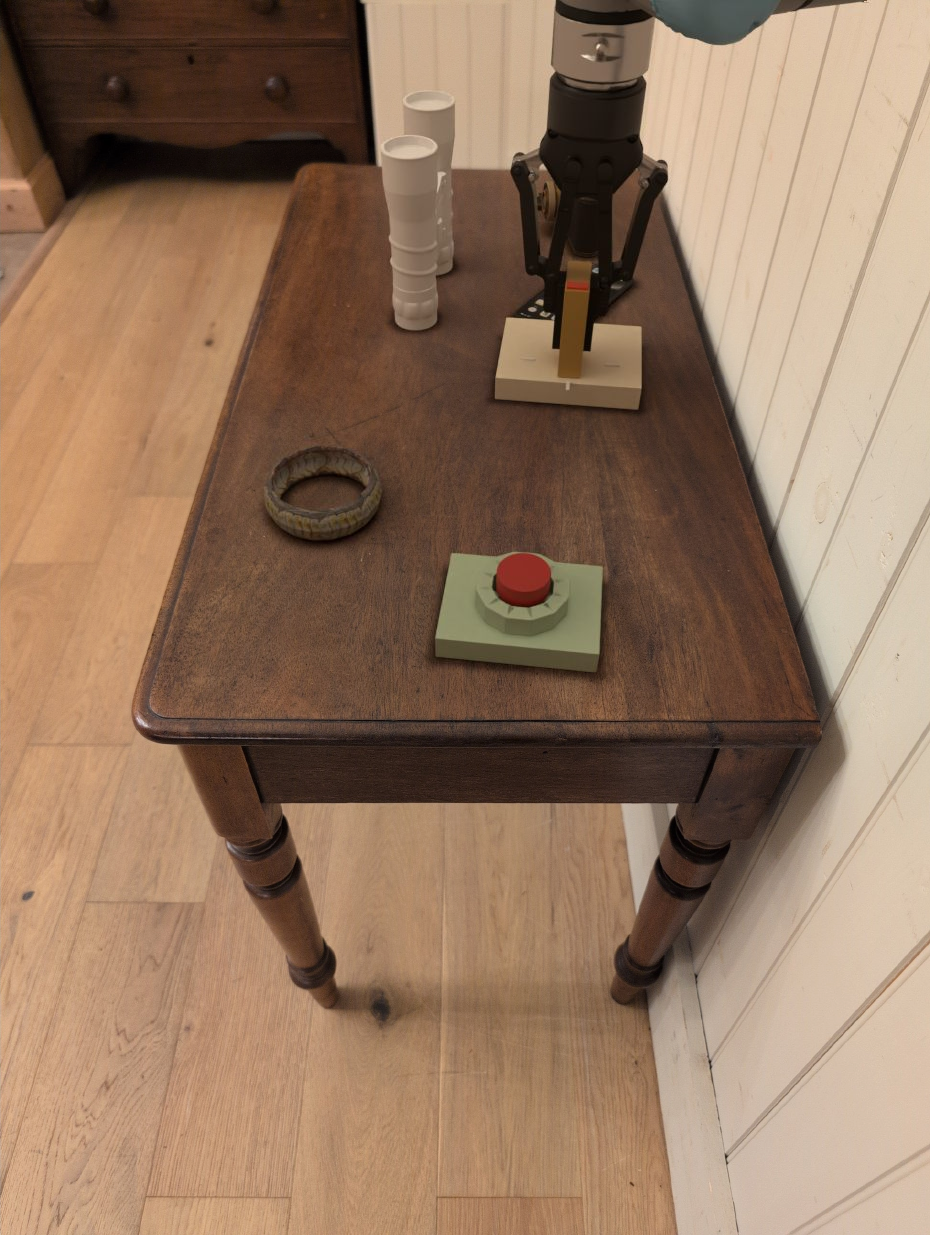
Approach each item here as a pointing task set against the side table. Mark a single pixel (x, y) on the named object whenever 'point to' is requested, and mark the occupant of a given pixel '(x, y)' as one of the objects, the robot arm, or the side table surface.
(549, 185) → the camera
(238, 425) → the side table surface
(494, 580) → the box
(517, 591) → the button
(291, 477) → the decorative ring
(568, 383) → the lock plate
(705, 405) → the side table surface
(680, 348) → the side table surface
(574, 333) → the lock knob
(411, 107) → the binoculars
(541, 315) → the smartphone
